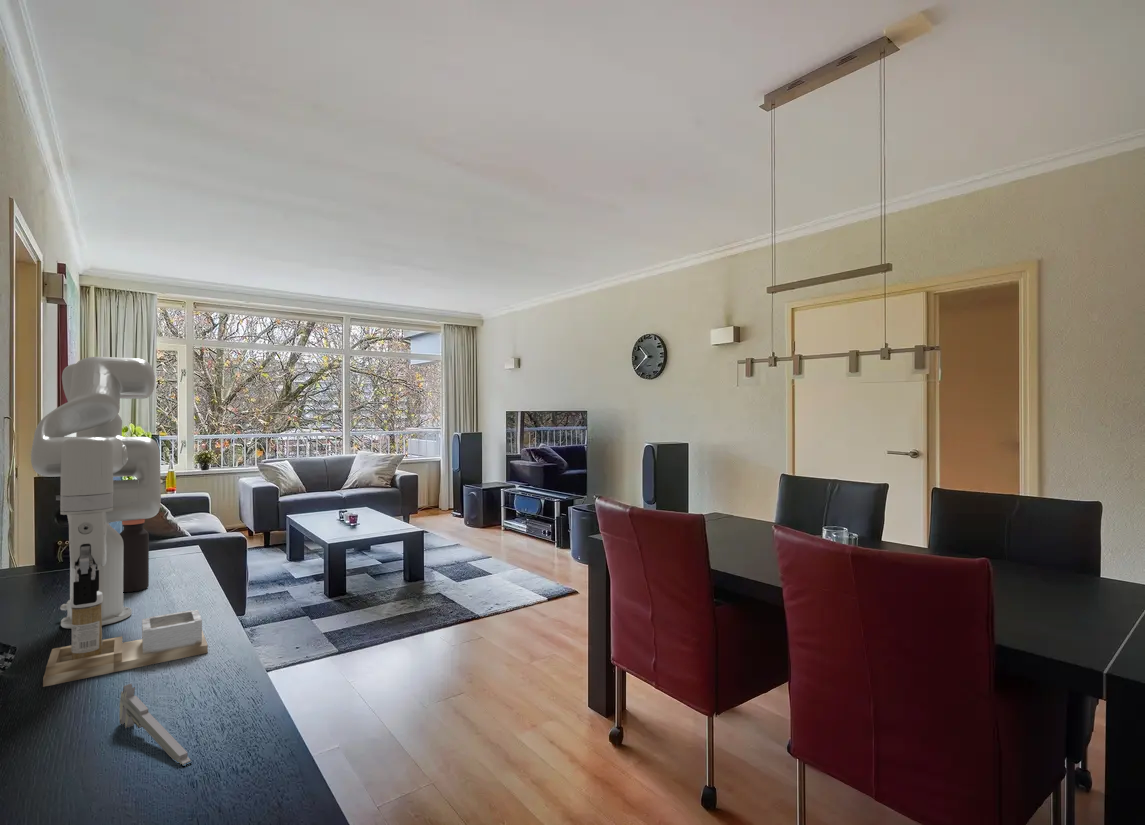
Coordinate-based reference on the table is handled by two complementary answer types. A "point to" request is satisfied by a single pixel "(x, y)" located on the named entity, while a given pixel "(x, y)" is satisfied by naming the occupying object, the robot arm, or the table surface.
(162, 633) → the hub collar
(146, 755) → the table surface
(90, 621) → the sprinkles bottle
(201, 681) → the table surface
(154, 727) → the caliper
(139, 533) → the vinegar
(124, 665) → the stand board
